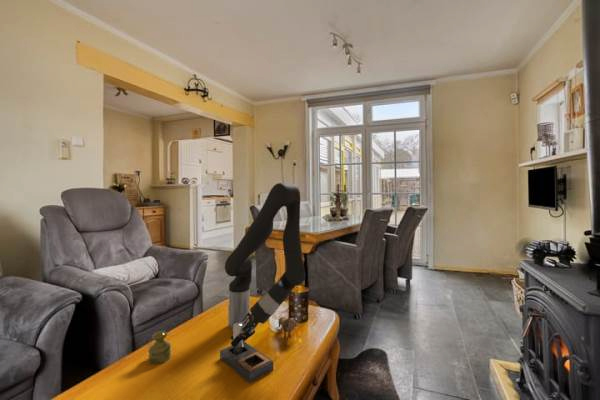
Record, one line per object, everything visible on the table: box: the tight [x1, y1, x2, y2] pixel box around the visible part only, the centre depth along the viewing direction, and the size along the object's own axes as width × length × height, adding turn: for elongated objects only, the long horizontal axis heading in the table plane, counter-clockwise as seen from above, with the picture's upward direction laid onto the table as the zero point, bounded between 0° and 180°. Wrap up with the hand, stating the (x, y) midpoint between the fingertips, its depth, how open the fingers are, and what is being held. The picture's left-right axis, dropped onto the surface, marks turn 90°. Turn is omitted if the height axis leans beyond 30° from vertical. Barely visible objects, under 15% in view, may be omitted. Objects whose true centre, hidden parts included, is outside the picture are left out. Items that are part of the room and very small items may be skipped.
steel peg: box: [232, 322, 243, 356], centre depth 106 cm, size 4×4×12 cm
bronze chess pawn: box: [148, 330, 172, 365], centre depth 105 cm, size 7×7×10 cm
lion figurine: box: [277, 316, 299, 340], centre depth 124 cm, size 15×5×9 cm, turn 35°
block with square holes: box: [219, 341, 274, 384], centre depth 103 cm, size 19×10×3 cm, turn 45°
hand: (232, 342), depth 106 cm, fingers closed on steel peg, 3 cm apart
